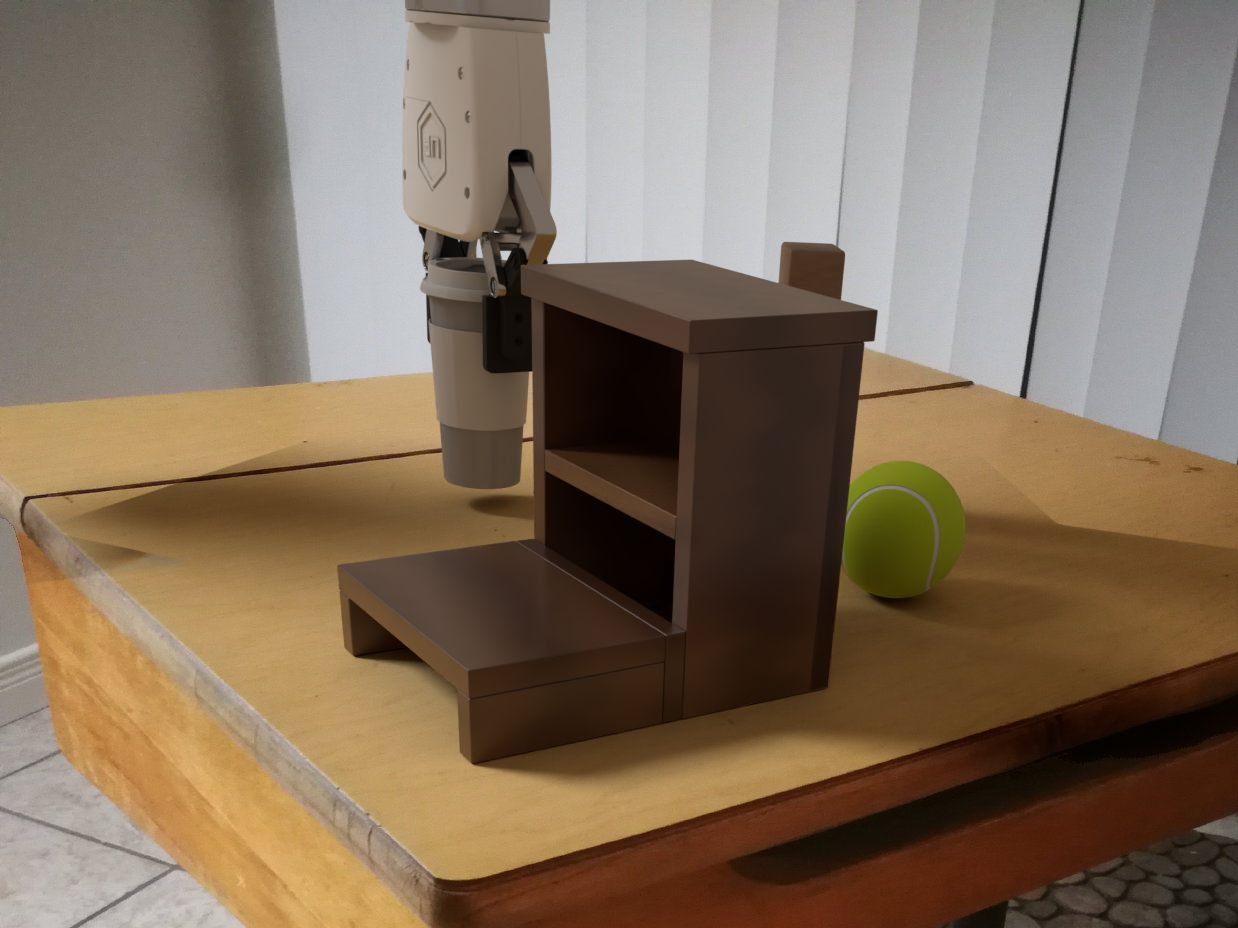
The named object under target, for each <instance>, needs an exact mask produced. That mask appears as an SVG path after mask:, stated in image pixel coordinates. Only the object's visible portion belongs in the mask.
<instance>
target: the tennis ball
mask: <svg viewBox="0 0 1238 928" xmlns="http://www.w3.org/2000/svg"><path fill="white" fill-rule="evenodd" d="M965 537H966V517H965V511H964V507H963V504H962V501H961V499H960V496H959V495H958V493H957V491H956V489H955V488H954V487H953V485H952V484H951V483H950V482H949V480H948V479H947V478H946V477H945V476H943V475H942V474H941V473H940V472H938V471H937V470H935V469H934V468H932V467H931V466H928V465H925V464H923V463H920V462H916V461H910V460H892V461H887V462H883V463H880V464H876V465H875V466H872V467H871V468H868V469H867V470H865V471H864V472H862V473H860V474H859V475H858V476H857V477H856V478H855V479H853V481H852V482H850V487H849V496H848V506H847V515H846V525H845V534H844V544H843V553H842V563H841V570H842V571H843V573H844V575H846V576H847V577H848V578H849V579H850V581H851V582H852V583H853V584H855V585H857V587H859V588H860V589H862V590H863V591H866V592H867V593H869V594H871V595H874V596H877V597H882V598H885V599H886V598H887V599H907V598H912V597H915V596H919V595H922V594H925V593H926V592H928V591H929V590H930V589H933V588H935V587H937V586H938V585H939V584H941V582H943V581H944V579H945V578H947V576H948V575H949V574H950V573H951V571H952V570H953V568H954V567H955V565H956V564H957V562H958V560H959V558H960V555H961V553H962V550H963V547H964V543H965Z"/></svg>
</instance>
